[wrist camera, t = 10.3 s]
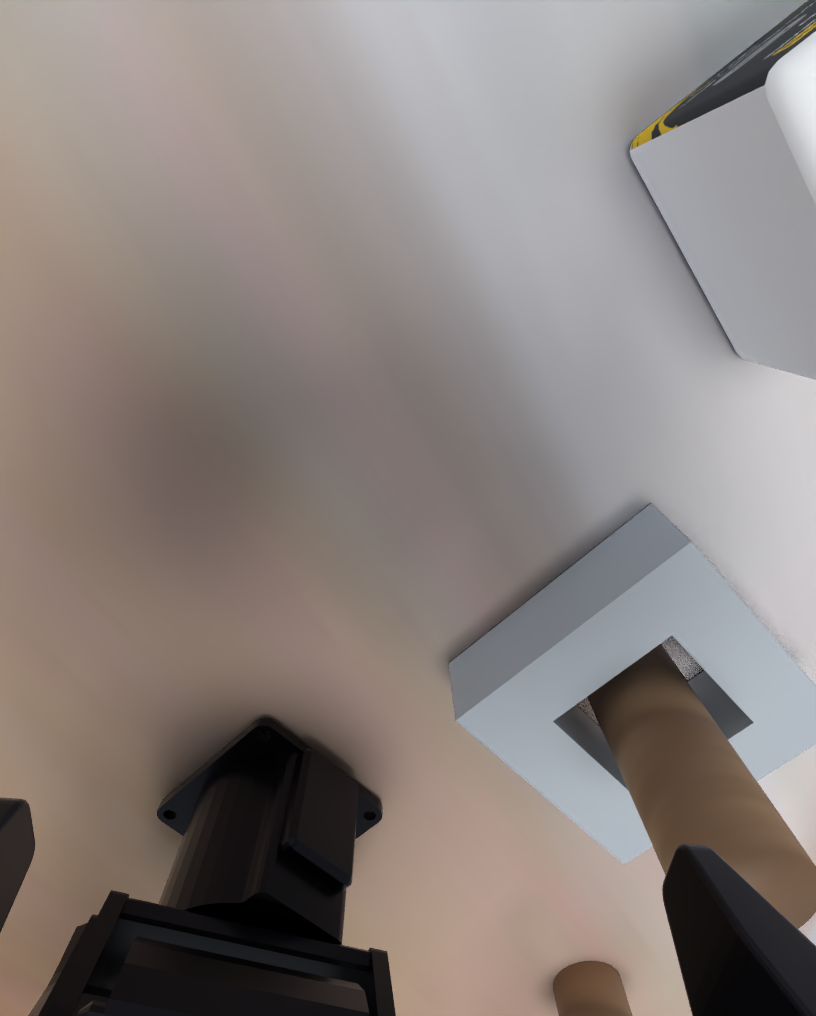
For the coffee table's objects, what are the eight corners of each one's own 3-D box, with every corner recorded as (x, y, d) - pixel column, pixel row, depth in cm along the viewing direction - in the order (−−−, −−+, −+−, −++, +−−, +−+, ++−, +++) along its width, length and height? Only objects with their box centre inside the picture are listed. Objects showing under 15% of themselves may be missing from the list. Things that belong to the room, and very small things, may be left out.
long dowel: (612, 715, 23) (732, 965, 15) (560, 664, 23) (656, 901, 14) (682, 666, 23) (849, 901, 14) (631, 611, 22) (776, 827, 13)
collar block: (598, 797, 25) (623, 864, 22) (448, 663, 22) (455, 720, 20) (793, 666, 23) (848, 723, 20) (651, 503, 20) (691, 541, 17)
